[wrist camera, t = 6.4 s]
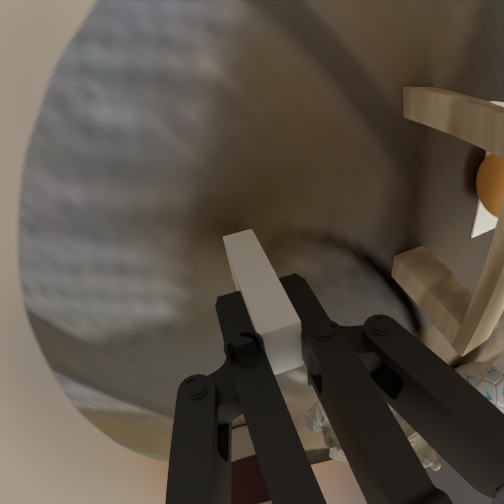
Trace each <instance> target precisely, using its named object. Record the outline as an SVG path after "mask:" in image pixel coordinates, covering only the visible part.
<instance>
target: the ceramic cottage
mask: <svg viewBox="0 0 504 504" xmlns="http://www.w3.org/2000/svg"><path fill="white" fill-rule="evenodd" d="M387 404H388V403H387ZM388 406H389V407H390V409H391V411H392V412H393V414H394V416H395V417H396V419H397V421H398V423H399V424H400V426H401V428H402V430H403V431H404V433H405V435H406V437H407V438H408V440H409V442H410V444H411V445H412V447H413V449H414V451H415V452H416V454H417V456H418V458H419V460H420V461H421V463H422V465H423V467H424V468H426V467H428V466H431V468H432V470H434V471H436V470H438V469H439V468H440V467H441V464H440V463H439V461H438V460H437V457H436V454H435V450H434V449H433V448H432V447H431V446H430V445H429V444H428V443H427V442H426V441H425V440H424V439H423V438H422V437H421V436H420V435H419V434H418V433H417V432H416V431H415V430H414V429H413V428H412V427H411V426H410V425H409V424H408V423H407V422H406V421H405V420H404V419H403V418H402V417H401V416H400V415H399V414H398V413H397V412H396V411H395V410H394V409H393V408H392V407H391V406H390V405H389V404H388ZM306 420H307V423H308V425H309V426H310V428H311V430H312V431H313V432H314V433H318V432H321V433H322V434H323V436H324V440H325V444H326V446H329V447H330V457H331V458H332V459H336V460H337V461H342V462H346V463H348V461H347V459H346V456H345V454H344V452H343V450H342V448H341V446H340V443H339V441H338V439H337V437H336V435H335V433H334V431H333V428H332V426H331V424H330V422H329V420H328V418H327V416H326V413H325V411H324V409H323V407H322V405H321V403H320V401H319V402H318V403H317V404H316V405H315V406H314V407H312V408H311V409H310V411H309V412H308V413H307V417H306ZM348 464H349V463H348Z"/></svg>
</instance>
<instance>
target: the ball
mask: <svg viewBox="0 0 504 504" xmlns="http://www.w3.org/2000/svg"><path fill="white" fill-rule="evenodd" d="M476 188H477V193H478V196H479V199H480V201H481V203H482V205H483V206H484V208H485V209H486V210H487V211H488V212H489V213H490V214H492V215H493V216H495V217H497V218H498V216H499V212H500V208H501V203H502V199H503V194H504V159H503V158H501V157H499V156H497V155H495V154H493V153H492V154H490V155H489V156H487V157H486V158H485V159H484V160H483V162H482V163H481V165H480V167H479V169H478V172H477V176H476Z"/></svg>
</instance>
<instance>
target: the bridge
mask: <svg viewBox="0 0 504 504" xmlns="http://www.w3.org/2000/svg"><path fill="white" fill-rule="evenodd" d="M403 118H406V119H409V120H412V121H415V122H418V123H421V124H424V125H426V126H429V127H432V128H435V129H437V130H440V131H442V132H445V133H447V134H450V135H452V136H455V137H457V138H460V139H462V140H464V141H467V142H469V143H471V144H473V145H476V146H478V147H480V148H482V149H484V150H486V151H488V152H491V153H493V154H495V155H497V156H499V157H501V158H503V159H504V107H503V106H500V105H497V104H494V103H491V102H488V101H485V100H481V99H478V98H475V97H471V96H468V95H464V94H461V93H457V92H453V91H449V90H445V89H441V88H436V87H411V86H403ZM391 276H392V277H393V278H394V279H395V280H396V281H397V283H398V284H399V285H400V286H401V287H402V288H403V289H404V290H405V291H406V293H407V294H408V295H409V296H410V297H411V298H412V299H413V300H414V302H415V303H416V304H417V305H418V306H419V307H420V308H421V310H422V311H423V312H424V313H425V314H426V315H427V316H428V318H429V319H430V320H431V321H432V322H433V324H434V325H435V326H436V327H437V328H438V329H439V331H440V332H441V333H442V334H443V335H444V337H445V338H446V339H447V340H448V342H449V343H450V344H451V345H452V347H453V348H454V349H455V350H456V352H457V353H458V354H459V355H460V357H463V356H464V355H466V354H467V353H469V352H470V351H471V350H473V349H474V348H476V347H477V346H479V345H480V344H481V343H483V342H484V341H486V340H487V339H488V338H489V336H490V335H491V333H492V331H493V329H494V327H495V325H496V323H497V322H498V320H499V318H500V316H501V314H502V312H503V310H504V194H503V199H502V203H501V208H500V212H499V216H498V220H497V224H496V228H495V232H494V235H493V239H492V242H491V246H490V249H489V252H488V255H487V259H486V262H485V265H484V268H483V271H482V273H481V276H480V279H479V282H478V285H477V287H476V290H475V292H474V293H473V292H472V291H471V290H470V289H469V288H468V287H467V286H466V285H465V284H464V283H463V282H462V281H461V280H460V279H459V278H457V277H456V276H455V275H454V274H453V273H452V272H451V271H450V270H449V269H448V268H447V267H446V266H445V265H444V264H442V263H441V262H440V261H439V260H438V259H437V258H436V257H435V256H434V255H432V254H431V253H430V252H429V251H428V250H427V249H426V248H425V247H423V246H420V247H417V248H414V249H411V250H409V251H406V252H403V253H400V254H398V255H395V256H394V261H393V267H392V274H391Z"/></svg>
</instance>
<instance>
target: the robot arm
mask: <svg viewBox="0 0 504 504" xmlns="http://www.w3.org/2000/svg"><path fill="white" fill-rule="evenodd" d="M223 241H224V245H225V249H226V253H227V257H228V261H229V265H230V269H231V273H232V277H233V280H234V283H235V286H236V289H237V292H233V293H230V294H226V295H223V296H219V297H218V298H217V302H216V305H215V307H216V311H217V315H218V319H219V323H220V327H221V331H222V335H223V339H224V351H225V354H226V360H225V362H224V364H223V365H222V366H221V368H219V369H218V370H217V371H215V372H214V373H212V374H210V375H209V376H206V375H200V374H197V375H192V376H189V377H188V378H186V379H184V380H183V382H182V383H181V384H180V386H179V389H178V392H177V400H176V408H175V415H174V424H173V432H172V441H171V450H170V459H169V469H168V480H167V491H166V503H165V504H231V446H232V420H234V419H235V418H237V417H239V416H240V415H242V414H244V417H245V421H246V424H247V427H248V431H249V434H250V437H251V440H252V444H253V447H254V450H255V453H256V456H257V459H258V462H259V466H260V469H261V472H262V475H263V478H264V481H265V484H266V487H267V490H268V493H269V496H270V498H271V501H272V504H326V501H325V499H324V497H323V494H322V492H321V490H320V487H319V485H318V482H317V480H316V477H315V475H314V473H313V470H312V468H311V465H310V463H309V460H308V458H307V456H306V453H305V451H304V448H303V446H302V443H301V441H300V438H299V436H298V433H297V431H296V428H295V426H294V423H293V421H292V418H291V416H290V413H289V411H288V408H287V406H286V403H285V401H284V398H283V396H282V393H281V391H280V388H279V386H278V383H277V380H276V378H275V375H277V374H280V373H283V372H286V371H289V370H292V369H295V368H298V367H301V366H303V360H304V362H305V364H306V366H307V370H308V385H309V386H310V385H311V383H312V385H313V388H314V390H315V392H316V394H317V396H318V398H319V400H320V403H321V405H322V407H323V409H324V411H325V413H326V416H327V418H328V420H329V422H330V424H331V426H332V428H333V431H334V433H335V435H336V437H337V439H338V441H339V443H340V446H341V448H342V450H343V452H344V454H345V456H346V459H347V461H348V463H349V465H350V467H351V469H352V471H353V473H354V476H355V478H356V480H357V482H358V484H359V486H360V488H361V491H362V493H363V495H364V497H365V499H366V501H367V504H453V503H452V501H451V500H450V498H449V497H448V495H447V494H446V493H444V491H442V490H440V489H437V488H436V487H435V486H434V485H433V483H432V481H431V480H430V478H429V476H428V474H427V472H426V470H425V469H424V467H423V465H422V463H421V461H420V460H419V458H418V456H417V454H416V452H415V451H414V449H413V447H412V445H411V444H410V442H409V440H408V438H407V437H406V435H405V433H404V431H403V430H402V428H401V426H400V424H399V423H398V421H397V419H396V417H395V416H394V414H393V412H392V411H391V409H390V407H389V406H388V404H389V405H390V406H391V407H392V408H393V409H394V410H395V411H396V412H397V413H398V414H399V415H400V416H401V417H402V418H403V419H404V420H405V421H406V422H407V423H408V424H409V425H410V426H411V427H412V428H413V429H414V430H415V431H416V432H417V433H418V434H419V435H420V436H421V437H422V438H423V439H424V440H425V441H426V442H427V443H428V444H429V445H430V446H431V447H432V448H433V449H434V450H435V451H436V452H437V453H438V454H439V455H440V456H441V457H442V458H443V459H444V460H445V461H447V463H449V464H450V465H451V466H452V467H453V468H454V469H455V470H456V471H457V472H458V473H459V474H460V475H461V476H462V477H463V478H464V479H465V480H466V481H467V482H468V483H469V484H470V485H471V486H472V487H474V488H475V489H476V490H477V491H479V492H481V493H482V494H484V495H486V496H488V497H490V498H493V499H494V500H493V501H492V502H491V504H504V413H503V412H502V411H500V410H499V409H498V408H497V407H496V406H495V405H494V404H493V403H491V402H490V401H489V400H488V399H487V398H486V397H485V396H484V395H482V394H481V393H480V392H479V391H478V390H477V389H476V388H475V387H473V386H472V385H471V384H470V383H469V382H468V381H466V380H465V379H464V378H463V377H462V376H461V375H460V374H458V373H457V372H456V371H455V370H454V369H453V368H451V367H450V366H449V365H448V364H447V363H446V362H444V361H443V360H442V359H441V358H440V357H438V356H437V355H436V354H435V353H434V352H432V351H431V350H430V349H429V348H428V347H427V346H425V345H424V344H423V343H422V342H421V341H419V340H418V339H417V338H416V337H414V336H413V335H412V334H411V333H410V332H408V331H407V330H406V329H405V328H404V327H402V326H401V325H400V324H399V323H397V322H396V321H395V320H394V319H392V318H391V317H389V316H386V315H381V314H380V315H374V316H371V317H369V318H368V319H367V320H366V321H365V323H364V325H361V326H341V325H338V324H337V323H336V322H334V321H331V320H330V318H329V317H328V316H327V314H326V312H325V311H324V309H323V307H322V306H321V304H320V303H319V301H318V299H317V298H316V296H315V295H314V293H313V291H312V290H311V288H310V287H309V285H308V283H307V282H306V280H305V279H304V278H302V277H301V276H299V275H298V274H296V273H295V274H292V275H288V276H285V277H282V278H278V277H277V275H276V273H275V271H274V270H273V268H272V266H271V264H270V262H269V260H268V258H267V256H266V255H265V253H264V251H263V249H262V247H261V245H260V243H259V241H258V240H257V238H256V236H255V234H254V232H253V230H252V229H249V230H245V231H241V232H238V233H234V234H230V235H227V236H223ZM387 403H388V404H387Z"/></svg>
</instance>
